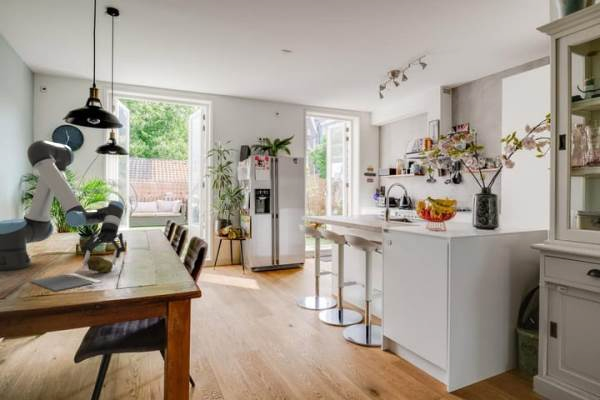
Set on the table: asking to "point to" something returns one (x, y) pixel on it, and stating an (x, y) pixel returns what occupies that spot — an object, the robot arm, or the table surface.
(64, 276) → the mat
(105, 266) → the potato
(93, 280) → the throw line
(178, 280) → the table surface
